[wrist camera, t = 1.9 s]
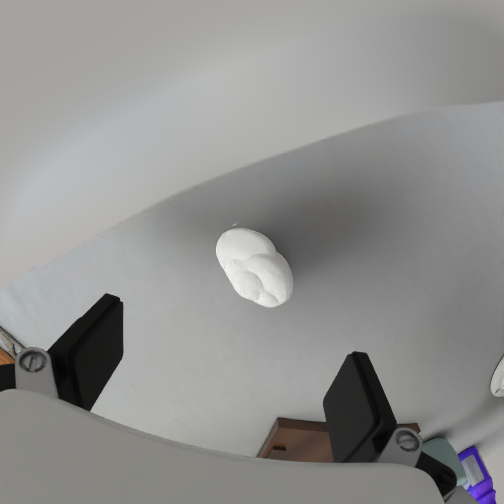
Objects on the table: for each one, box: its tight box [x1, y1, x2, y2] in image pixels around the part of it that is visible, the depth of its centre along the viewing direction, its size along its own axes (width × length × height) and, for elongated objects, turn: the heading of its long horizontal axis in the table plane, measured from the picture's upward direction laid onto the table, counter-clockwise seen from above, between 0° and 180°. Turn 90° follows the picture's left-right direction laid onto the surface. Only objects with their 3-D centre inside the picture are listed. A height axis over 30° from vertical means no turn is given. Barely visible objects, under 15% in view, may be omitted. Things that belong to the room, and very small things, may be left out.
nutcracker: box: [0, 327, 25, 359], centre depth 28 cm, size 16×1×5 cm
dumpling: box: [207, 222, 294, 307], centre depth 21 cm, size 7×5×4 cm
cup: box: [422, 438, 467, 486], centre depth 26 cm, size 8×8×10 cm
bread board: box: [257, 418, 420, 463], centre depth 29 cm, size 20×13×2 cm, turn 77°
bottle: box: [458, 447, 496, 504], centre depth 25 cm, size 7×6×17 cm
